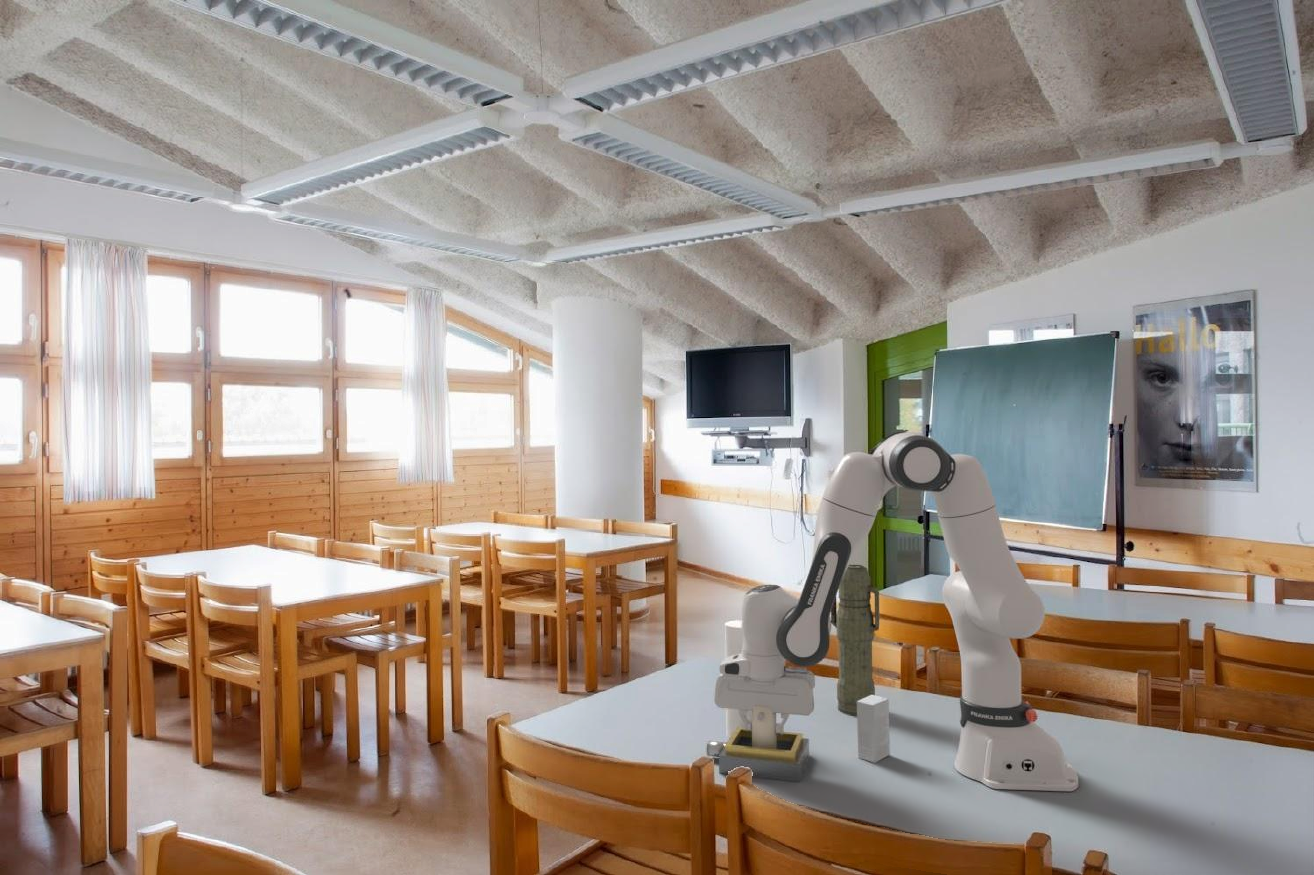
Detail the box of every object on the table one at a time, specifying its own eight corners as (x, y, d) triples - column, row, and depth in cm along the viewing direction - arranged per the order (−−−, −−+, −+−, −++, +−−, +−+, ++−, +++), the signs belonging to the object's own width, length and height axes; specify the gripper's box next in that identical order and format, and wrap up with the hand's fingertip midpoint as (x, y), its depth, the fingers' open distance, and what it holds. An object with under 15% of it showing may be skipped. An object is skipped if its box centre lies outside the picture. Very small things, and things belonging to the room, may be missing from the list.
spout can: (778, 749, 175) (778, 700, 175) (772, 761, 169) (772, 711, 169) (754, 746, 177) (754, 698, 177) (748, 758, 170) (747, 708, 170)
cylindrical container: (756, 741, 186) (755, 628, 186) (724, 739, 188) (722, 627, 187) (759, 730, 193) (757, 620, 193) (728, 728, 195) (726, 619, 194)
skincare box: (872, 749, 180) (871, 693, 180) (890, 755, 177) (889, 698, 177) (856, 758, 176) (856, 700, 176) (874, 763, 173) (874, 705, 173)
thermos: (835, 701, 213) (834, 562, 212) (883, 707, 208) (882, 564, 207) (827, 712, 205) (825, 567, 204) (876, 718, 200) (874, 570, 199)
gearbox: (809, 755, 178) (808, 731, 178) (799, 782, 165) (798, 756, 165) (716, 745, 184) (716, 722, 184) (699, 770, 171) (699, 746, 171)
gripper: (816, 664, 173) (817, 731, 173) (719, 657, 179) (719, 722, 180) (812, 672, 167) (813, 742, 167) (712, 665, 173) (712, 732, 174)
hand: (764, 732), depth 174 cm, fingers closed on spout can, 5 cm apart
